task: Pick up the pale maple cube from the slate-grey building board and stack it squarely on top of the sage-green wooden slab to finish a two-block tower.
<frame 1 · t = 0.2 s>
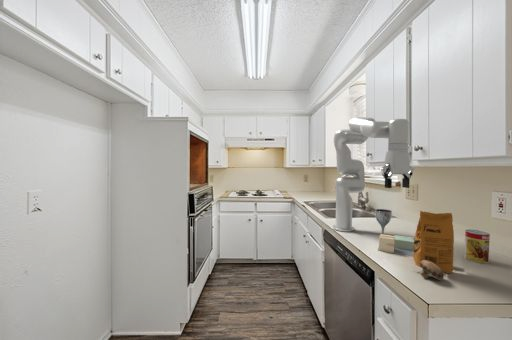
hand: (397, 187, 113), 30 cm above the worktop, fingers open, 9 cm apart
maple cube: (386, 249, 119), point 1 cm above the worktop, touching building board
coffee package: (431, 268, 101), on the worktop
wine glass: (382, 238, 141), on the worktop
building board: (397, 250, 121), on the worktop
sage slab: (403, 246, 123), point 1 cm above the worktop, touching building board
canned food: (476, 260, 111), on the worktop
mushroom: (430, 278, 92), on the worktop
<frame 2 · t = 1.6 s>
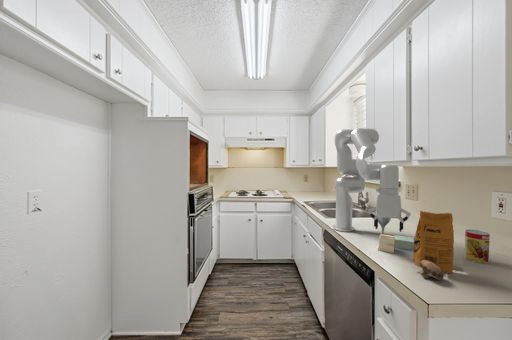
hand: (388, 229, 118), 10 cm above the worktop, fingers open, 9 cm apart
nothing on the worktop moved.
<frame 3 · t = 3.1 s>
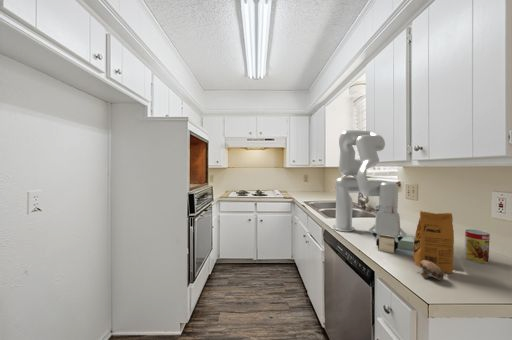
hand: (386, 248, 119), 2 cm above the worktop, fingers closed on maple cube, 6 cm apart
maple cube: (386, 249, 119), point 1 cm above the worktop, touching building board, gripper
everything else where it was.
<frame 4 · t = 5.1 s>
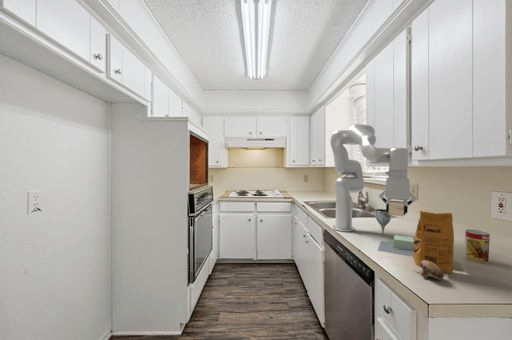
hand: (396, 213, 121), 17 cm above the worktop, fingers closed on maple cube, 6 cm apart
maple cube: (396, 214, 121), point 17 cm above the worktop, touching gripper
everything else where it was.
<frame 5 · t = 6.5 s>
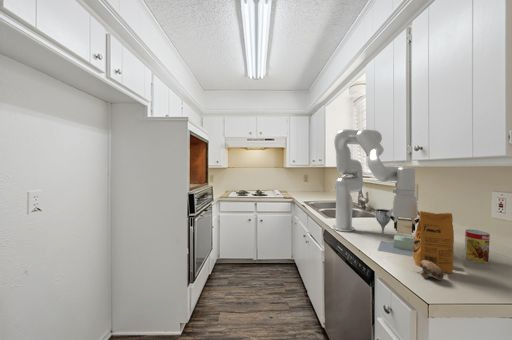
hand: (404, 230, 123), 9 cm above the worktop, fingers closed on maple cube, 6 cm apart
maple cube: (404, 232, 123), point 8 cm above the worktop, touching gripper
everything else where it was.
when the fingers open (7 cm above the worktop, at t = 7.4 s): maple cube drops 1 cm, resting on sage slab.
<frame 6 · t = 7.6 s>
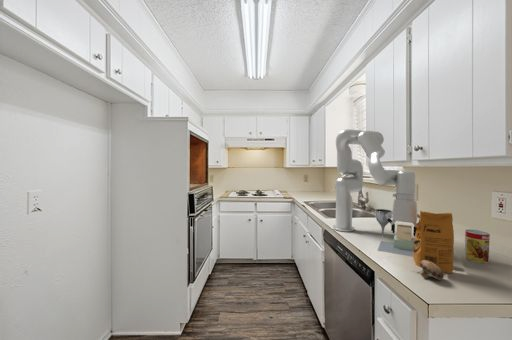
hand: (403, 233, 123), 7 cm above the worktop, fingers open, 8 cm apart
maple cube: (403, 238, 123), point 5 cm above the worktop, touching sage slab
sage slab: (403, 246, 123), point 1 cm above the worktop, touching building board, maple cube
everything else where it was.
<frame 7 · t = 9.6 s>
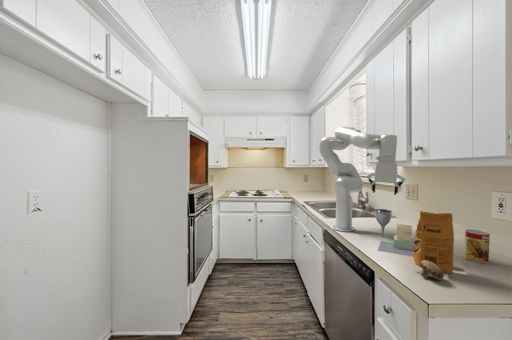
hand: (384, 193, 131), 25 cm above the worktop, fingers open, 9 cm apart
nothing on the worktop moved.
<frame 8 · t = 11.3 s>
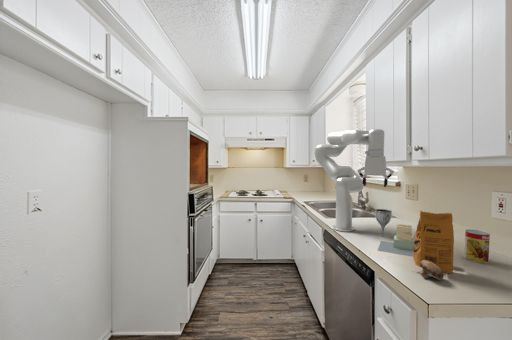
hand: (374, 186, 136), 28 cm above the worktop, fingers open, 9 cm apart
nothing on the worktop moved.
at the end: maple cube 0.1 cm off-centre on the sage slab, point 4.0 cm above the sage slab's base; maple cube tilted 0°; sage slab moved 0.0 cm from its start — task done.
